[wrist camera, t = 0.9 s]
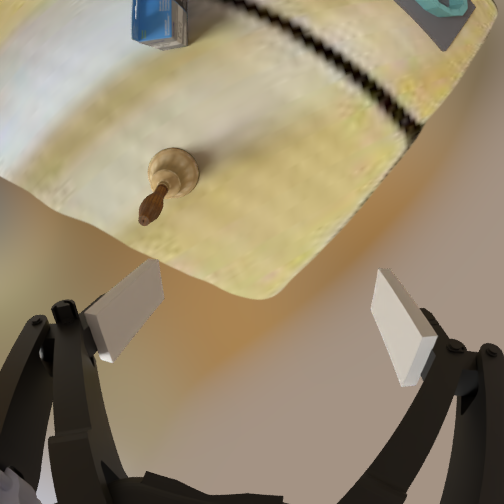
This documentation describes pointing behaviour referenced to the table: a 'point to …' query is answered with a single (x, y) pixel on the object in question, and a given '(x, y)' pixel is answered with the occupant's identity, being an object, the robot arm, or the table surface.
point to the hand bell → (168, 181)
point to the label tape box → (160, 23)
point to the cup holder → (439, 17)
